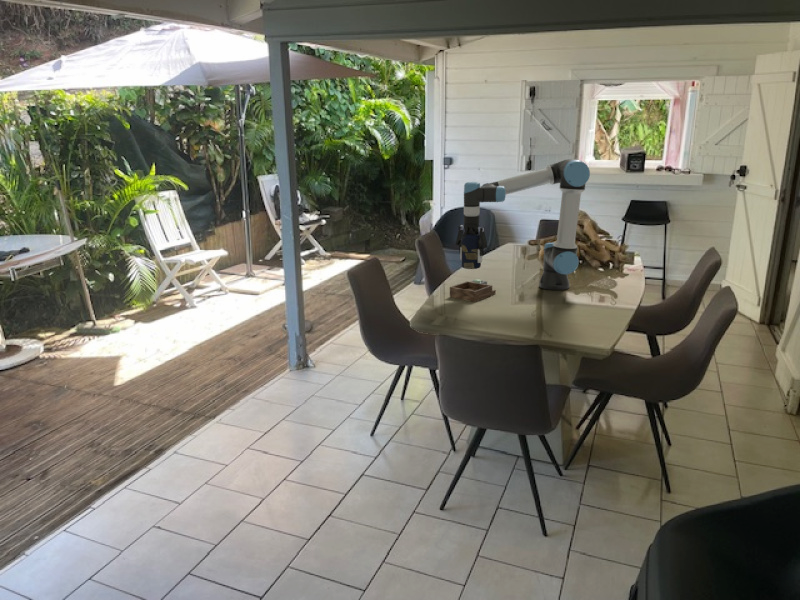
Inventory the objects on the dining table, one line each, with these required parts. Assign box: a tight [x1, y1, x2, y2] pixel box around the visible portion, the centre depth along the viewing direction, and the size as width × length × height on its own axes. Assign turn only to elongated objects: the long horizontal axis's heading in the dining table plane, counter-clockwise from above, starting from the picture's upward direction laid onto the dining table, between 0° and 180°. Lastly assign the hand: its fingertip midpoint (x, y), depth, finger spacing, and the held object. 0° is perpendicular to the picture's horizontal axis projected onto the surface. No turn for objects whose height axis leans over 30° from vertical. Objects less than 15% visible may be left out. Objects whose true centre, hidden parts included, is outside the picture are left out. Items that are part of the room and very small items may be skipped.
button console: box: [469, 279, 488, 285], centre depth 316 cm, size 7×7×4 cm
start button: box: [474, 278, 482, 283], centre depth 315 cm, size 4×4×4 cm
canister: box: [461, 233, 482, 270], centre depth 296 cm, size 10×10×18 cm
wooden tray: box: [449, 280, 496, 303], centre depth 302 cm, size 15×18×5 cm
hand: (471, 261), depth 297 cm, fingers closed on canister, 9 cm apart
